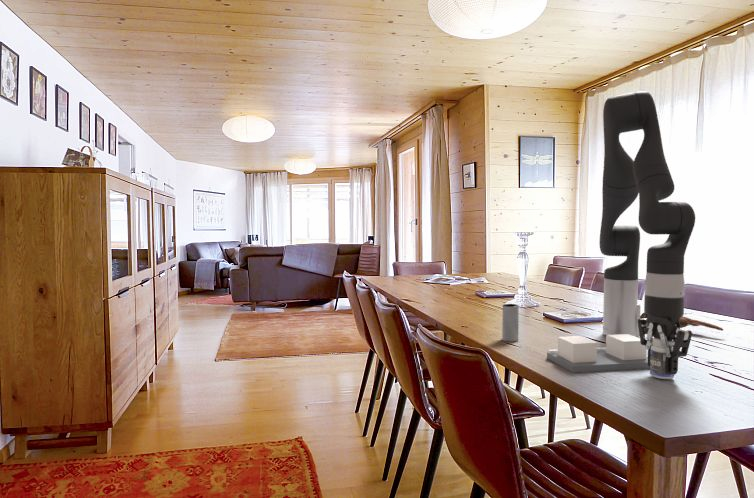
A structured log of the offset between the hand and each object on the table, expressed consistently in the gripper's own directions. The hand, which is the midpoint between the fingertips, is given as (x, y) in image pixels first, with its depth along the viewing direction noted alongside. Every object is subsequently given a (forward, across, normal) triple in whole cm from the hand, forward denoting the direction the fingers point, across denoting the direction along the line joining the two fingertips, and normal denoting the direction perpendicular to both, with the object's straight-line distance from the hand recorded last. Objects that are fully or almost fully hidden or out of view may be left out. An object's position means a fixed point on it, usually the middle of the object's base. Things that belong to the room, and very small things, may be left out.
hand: (661, 369), depth 109 cm
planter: (+2, +39, +18) cm, 43 cm away
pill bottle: (+2, 0, 0) cm, 2 cm away
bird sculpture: (+2, +41, -38) cm, 56 cm away
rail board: (+2, +13, +6) cm, 14 cm away
